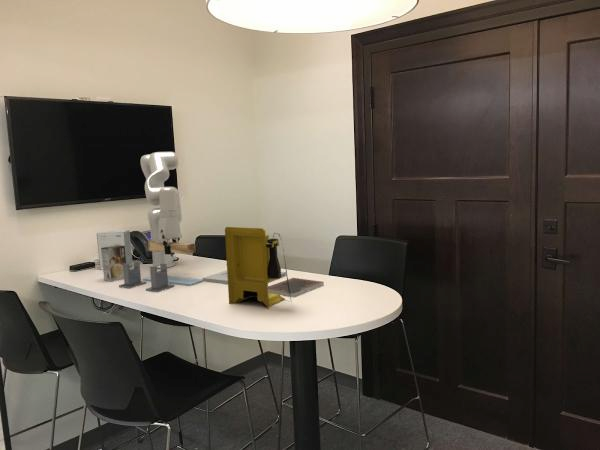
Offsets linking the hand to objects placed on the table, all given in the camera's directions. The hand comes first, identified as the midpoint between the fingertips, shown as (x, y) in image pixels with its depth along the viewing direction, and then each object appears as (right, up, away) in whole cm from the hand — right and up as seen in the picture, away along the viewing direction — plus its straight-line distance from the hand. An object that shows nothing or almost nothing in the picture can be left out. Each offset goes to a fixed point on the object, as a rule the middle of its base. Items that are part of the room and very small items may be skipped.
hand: (171, 253), depth 233 cm
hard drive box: (-39, -10, +37) cm, 55 cm away
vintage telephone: (+45, -17, -41) cm, 63 cm away
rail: (0, +1, 0) cm, 1 cm away
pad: (0, -13, +2) cm, 13 cm away
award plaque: (+34, -13, +1) cm, 36 cm away
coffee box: (-30, -13, +10) cm, 34 cm away
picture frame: (+57, -15, -21) cm, 63 cm away
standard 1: (-17, -15, -5) cm, 22 cm away
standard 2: (-2, -15, -13) cm, 20 cm away
